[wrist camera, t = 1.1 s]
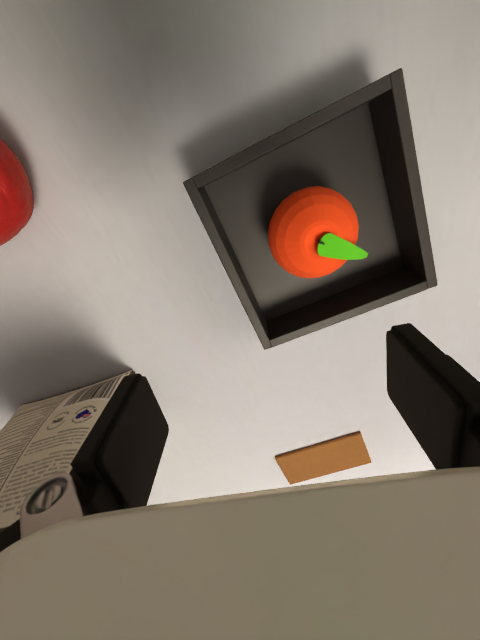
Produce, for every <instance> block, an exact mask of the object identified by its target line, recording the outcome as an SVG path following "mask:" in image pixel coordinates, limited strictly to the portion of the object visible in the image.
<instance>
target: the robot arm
mask: <svg viewBox="0 0 480 640" xmlns="http://www.w3.org/2000/svg"><path fill="white" fill-rule="evenodd" d="M386 345H387V391H388V395H389V397H390V399H391V401H392V402H393V404H394V405H395V407H396V408H397V410H398V411H399V413H400V414H401V416H402V417H403V419H404V421H405V422H406V424H407V425H408V427H409V428H410V430H411V431H412V433H413V434H414V436H415V438H416V439H417V441H418V442H419V444H420V445H421V447H422V448H423V450H424V451H425V453H426V454H427V456H428V458H429V459H430V461H431V462H432V464H433V465H434V467H435V468H436V470H429V471H419V472H410V473H400V474H391V475H383V476H374V477H366V478H358V479H350V480H342V481H334V482H326V483H317V484H309V485H301V486H294V487H286V488H278V489H270V490H262V491H254V492H247V493H239V494H231V495H224V496H216V497H208V498H201V499H194V500H186V501H179V502H171V503H164V504H156V505H149V506H146V505H147V502H148V499H149V495H150V492H151V489H152V485H153V482H154V479H155V476H156V472H157V469H158V466H159V462H160V459H161V456H162V452H163V449H164V446H165V443H166V439H167V436H168V431H169V429H168V424H167V422H166V419H165V417H164V415H163V413H162V411H161V409H160V406H159V404H158V402H157V400H156V398H155V396H154V394H153V391H152V389H151V387H150V385H149V383H148V381H147V379H146V377H145V376H142V375H140V374H133V375H128V376H124V377H123V379H122V380H121V382H120V384H119V385H118V387H117V388H116V390H115V392H114V393H113V395H112V397H111V398H110V400H109V401H108V403H107V405H106V406H105V408H104V410H103V411H102V413H101V415H100V416H99V418H98V419H97V421H96V423H95V424H94V426H93V428H92V429H91V431H90V433H89V434H88V436H87V437H86V439H85V441H84V442H83V444H82V446H81V447H80V449H79V450H78V452H77V454H76V455H75V457H74V459H73V460H72V462H71V464H70V465H71V466H72V469H71V471H70V473H69V474H68V473H66V472H64V473H57V474H54V475H52V476H50V477H48V478H46V479H45V480H43V481H42V482H41V483H39V484H38V485H37V486H36V487H35V488H34V489H33V490H32V491H31V492H30V493H29V494H28V495H27V497H26V498H25V499H24V501H23V503H22V505H21V508H20V519H18V520H17V521H16V522H14V523H13V524H12V525H10V526H9V527H8V528H6V529H5V530H3V531H2V532H1V533H0V640H480V382H479V381H477V380H476V379H475V378H474V377H473V376H472V375H471V374H470V373H468V372H467V371H466V370H465V369H464V368H463V367H462V366H460V365H459V364H458V363H457V362H456V361H455V360H454V359H453V358H451V357H450V356H448V355H445V354H444V353H443V352H442V351H441V350H440V349H439V348H437V347H436V346H435V345H434V344H433V343H432V342H431V341H430V340H429V339H427V338H426V337H425V336H424V335H423V334H422V333H421V332H420V331H418V330H417V329H416V328H415V327H414V326H413V325H412V324H410V323H407V324H402V325H396V326H392V328H391V331H387V334H386Z"/></svg>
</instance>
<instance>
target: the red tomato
mask: <svg viewBox="0 0 480 640" xmlns="http://www.w3.org/2000/svg"><path fill="white" fill-rule="evenodd" d="M32 211H33V195H32V190H31V186H30V183H29V180H28V177H27V175H26V172H25V170H24V168H23V166H22V164H21V163H20V161H19V159H18V158H17V157H16V155H15V154H14V153H13V152H12V151H11V150H10V148H9V147H8V146H7V145H6V144H5V143H4V142H3V141H2V140H1V139H0V245H2V244H4V243H6V242H7V241H9V240H10V239H12V238H13V237H14V236H16V235H17V234H18V233H19V232H20V230H21V229H22V228H23V227H24V226H25V225H26V223H27V222H28V221H29V219H30V217H31V215H32Z"/></svg>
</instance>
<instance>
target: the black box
mask: <svg viewBox="0 0 480 640" xmlns="http://www.w3.org/2000/svg"><path fill="white" fill-rule="evenodd" d="M183 184H184V186H185V188H186V190H187V192H188V194H189V196H190V198H191V201H192V203H193V205H194V207H195V209H196V211H197V213H198V215H199V217H200V219H201V221H202V223H203V225H204V227H205V229H206V231H207V233H208V235H209V237H210V239H211V241H212V243H213V245H214V248H215V250H216V252H217V254H218V256H219V258H220V260H221V262H222V264H223V266H224V268H225V270H226V272H227V274H228V276H229V278H230V280H231V282H232V284H233V286H234V288H235V290H236V292H237V295H238V297H239V299H240V301H241V303H242V305H243V307H244V309H245V311H246V313H247V315H248V317H249V319H250V321H251V323H252V325H253V327H254V329H255V331H256V333H257V335H258V337H259V340H260V342H261V344H262V346H263V348H264V349H265V350H266V349H268V348H271V347H274V346H277V345H279V344H282V343H285V342H287V341H290V340H293V339H295V338H298V337H301V336H303V335H306V334H309V333H311V332H314V331H317V330H319V329H322V328H325V327H327V326H330V325H333V324H335V323H338V322H341V321H343V320H346V319H349V318H352V317H354V316H357V315H360V314H362V313H365V312H368V311H370V310H373V309H376V308H378V307H381V306H384V305H386V304H389V303H392V302H394V301H397V300H400V299H402V298H405V297H408V296H410V295H413V294H416V293H418V292H421V291H424V290H426V289H428V288H431V287H434V286H437V279H436V273H435V267H434V261H433V254H432V248H431V242H430V236H429V230H428V224H427V218H426V212H425V206H424V200H423V194H422V187H421V181H420V175H419V169H418V163H417V157H416V151H415V145H414V139H413V133H412V126H411V120H410V114H409V108H408V102H407V96H406V90H405V84H404V78H403V72H402V68H400V69H398V70H396V71H394V72H392V73H390V74H389V75H386V76H384V77H383V78H381V79H379V80H377V81H375V82H373V83H371V84H369V85H367V86H365V87H364V88H362V89H360V90H358V91H356V92H354V93H352V94H350V95H348V96H346V97H344V98H343V99H341V100H339V101H337V102H335V103H333V104H331V105H329V106H327V107H325V108H324V109H322V110H320V111H318V112H316V113H314V114H312V115H310V116H308V117H306V118H305V119H303V120H301V121H299V122H297V123H295V124H293V125H291V126H289V127H287V128H285V129H284V130H282V131H280V132H278V133H276V134H274V135H272V136H270V137H268V138H266V139H265V140H263V141H261V142H259V143H257V144H255V145H253V146H251V147H249V148H247V149H245V150H244V151H242V152H240V153H238V154H236V155H234V156H232V157H230V158H228V159H226V160H225V161H223V162H221V163H219V164H217V165H215V166H213V167H211V168H209V169H207V170H206V171H204V172H202V173H200V174H198V175H196V176H194V177H193V178H190V179H188V180H187V181H185V182H183ZM315 186H320V187H326V188H330V189H332V190H334V191H336V192H338V193H340V194H341V195H343V196H344V197H345V198H346V199H347V200H348V201H349V202H350V203H351V205H352V207H353V209H354V210H355V212H356V214H357V219H358V224H359V230H358V239H357V242H356V245H355V246H357V247H359V248H361V249H362V250H364V251H366V252H367V253H368V256H367V257H366V258H364V259H358V260H347V261H346V262H345V263H344V264H343V265H342V266H341V267H340V268H339V269H337V270H335V271H334V272H332V273H331V274H328V275H325V276H322V277H319V278H309V279H308V278H302V277H297V276H295V275H293V274H290V273H288V272H287V271H286V270H285V269H283V268H282V267H281V266H280V265H279V264H278V263H277V262H276V260H275V259H274V257H273V256H272V253H271V250H270V247H269V244H268V230H269V225H270V220H271V218H272V216H273V214H274V212H275V210H276V209H277V207H278V206H279V205H280V204H281V202H282V201H283V200H284V199H286V198H287V197H288V196H290V195H291V194H292V193H294V192H296V191H298V190H301V189H303V188H306V187H315Z"/></svg>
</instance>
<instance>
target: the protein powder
mask: <svg viewBox="0 0 480 640" xmlns="http://www.w3.org/2000/svg"><path fill="white" fill-rule="evenodd" d="M133 374H135V373H134V372H133V370H130V371H128V372H125V373H123V374H120V375H118V376H115V377H112V378H110V379H107V380H104V381H101V382H98V383H95V384H93V385H90V386H87V387H84V388H80V389H77V390H74V391H71V392H68V393H65V394H61V395H58V396H55V397H51V398H48V399H44V400H41V401H37V402H33V403H29V404H24V405H21V406H20V407H19V409H18V410H17V412H16V413H15V414H14V415H13V417H12V418H11V419H10V420H9V421H8V423H7V424H6V425H5V426H4V427H3V428H2V430H1V431H0V533H1V532H2V531H3V530H5V529H6V528H8V527H9V526H10V525H12V524H13V523H14V522H16V521H17V520H18V519H20V508H21V505H22V503H23V501H24V499H25V498H26V497H27V495H28V494H29V493H30V492H31V491H32V490H33V489H34V488H35V487H36V486H37V485H38V484H39V483H41V482H42V481H43V480H45V479H46V478H48V477H50V476H52V475H54V474H57V473H64V472H66V473H68V474H69V473H70V471H71V469H72V466H71V465H70V464H71V462H72V460H73V459H74V457H75V455H76V454H77V452H78V450H79V449H80V447H81V446H82V444H83V442H84V441H85V439H86V437H87V436H88V434H89V433H90V431H91V429H92V428H93V426H94V424H95V423H96V421H97V419H98V418H99V416H100V415H101V413H102V411H103V410H104V408H105V406H106V405H107V403H108V401H109V400H110V398H111V397H112V395H113V393H114V392H115V390H116V388H117V387H118V385H119V384H120V382H121V380H122V379H123V377H124V376H128V375H133Z"/></svg>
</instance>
